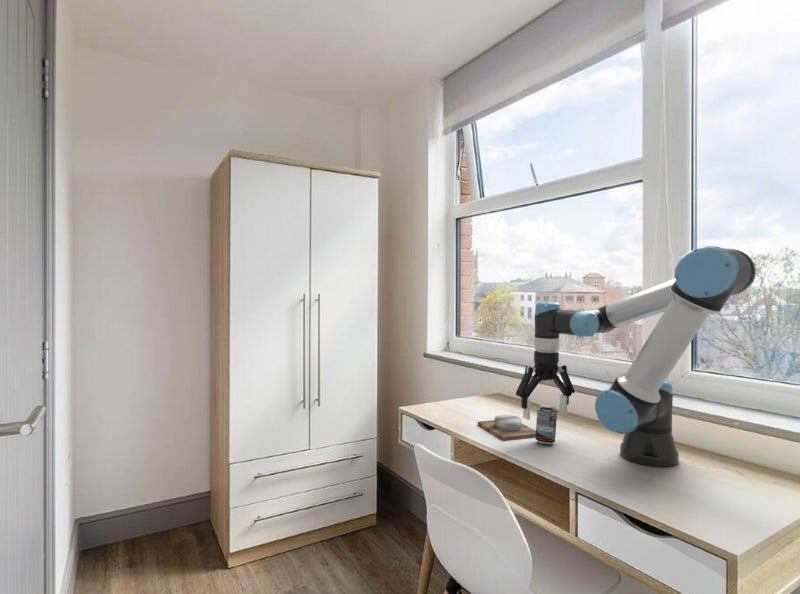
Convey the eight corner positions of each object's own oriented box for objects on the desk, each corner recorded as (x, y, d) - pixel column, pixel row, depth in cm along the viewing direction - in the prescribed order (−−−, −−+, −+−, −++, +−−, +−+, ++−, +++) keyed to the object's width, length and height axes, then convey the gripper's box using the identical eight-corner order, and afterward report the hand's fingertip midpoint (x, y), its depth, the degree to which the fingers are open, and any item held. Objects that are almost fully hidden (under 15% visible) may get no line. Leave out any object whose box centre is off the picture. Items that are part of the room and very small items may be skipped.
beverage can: (533, 444, 149) (533, 407, 148) (538, 438, 155) (538, 401, 155) (554, 448, 146) (554, 409, 145) (558, 441, 152) (558, 404, 152)
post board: (540, 436, 157) (540, 424, 157) (503, 440, 153) (503, 427, 152) (512, 421, 174) (512, 410, 174) (477, 425, 170) (477, 413, 170)
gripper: (571, 347, 157) (570, 410, 158) (505, 350, 150) (504, 416, 150) (587, 351, 150) (585, 416, 151) (518, 354, 142) (517, 423, 143)
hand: (545, 416), depth 151 cm, fingers open, 13 cm apart
